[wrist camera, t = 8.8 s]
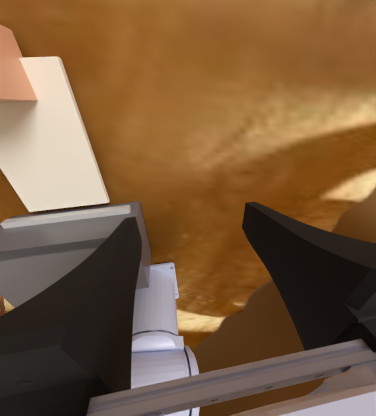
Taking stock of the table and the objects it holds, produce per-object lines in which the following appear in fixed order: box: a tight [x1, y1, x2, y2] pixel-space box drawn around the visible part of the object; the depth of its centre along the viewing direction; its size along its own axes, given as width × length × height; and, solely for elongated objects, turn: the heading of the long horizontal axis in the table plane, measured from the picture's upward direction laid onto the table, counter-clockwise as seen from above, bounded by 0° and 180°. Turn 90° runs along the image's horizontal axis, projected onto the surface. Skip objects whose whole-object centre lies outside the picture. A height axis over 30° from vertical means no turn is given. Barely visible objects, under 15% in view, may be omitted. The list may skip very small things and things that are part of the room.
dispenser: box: [0, 202, 151, 308], centre depth 19 cm, size 9×14×6 cm, turn 93°
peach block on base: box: [0, 25, 110, 212], centre depth 13 cm, size 14×8×5 cm, turn 3°
